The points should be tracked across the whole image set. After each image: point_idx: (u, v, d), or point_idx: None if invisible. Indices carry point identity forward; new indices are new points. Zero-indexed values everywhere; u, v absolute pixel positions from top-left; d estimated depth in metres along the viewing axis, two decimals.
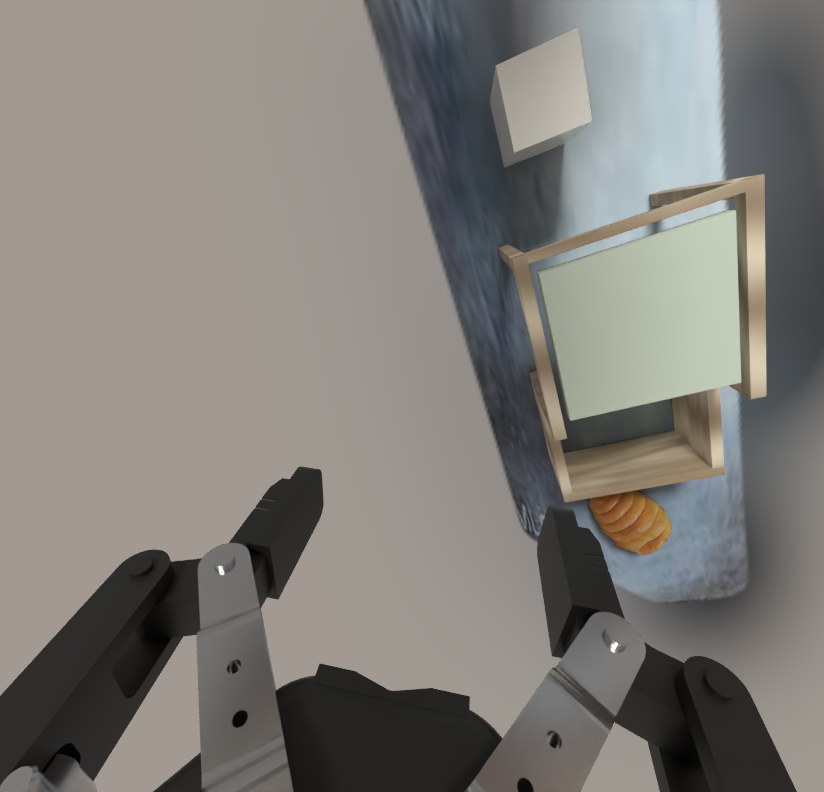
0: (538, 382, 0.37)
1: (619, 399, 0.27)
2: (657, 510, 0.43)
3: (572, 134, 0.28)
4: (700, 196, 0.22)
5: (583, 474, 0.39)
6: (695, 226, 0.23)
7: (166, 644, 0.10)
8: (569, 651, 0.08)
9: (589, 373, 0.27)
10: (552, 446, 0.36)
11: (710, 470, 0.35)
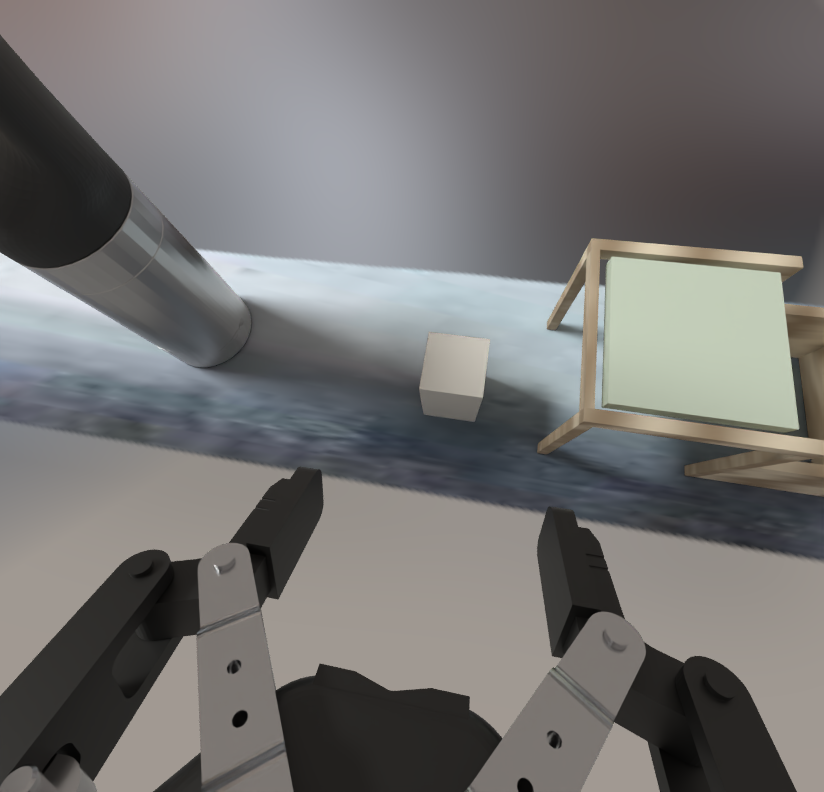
0: (706, 465, 0.32)
1: (778, 373, 0.24)
2: None
3: None
4: (591, 275, 0.27)
5: None
6: (613, 281, 0.27)
7: (166, 644, 0.10)
8: (569, 651, 0.08)
9: (736, 392, 0.24)
10: (817, 475, 0.27)
11: None
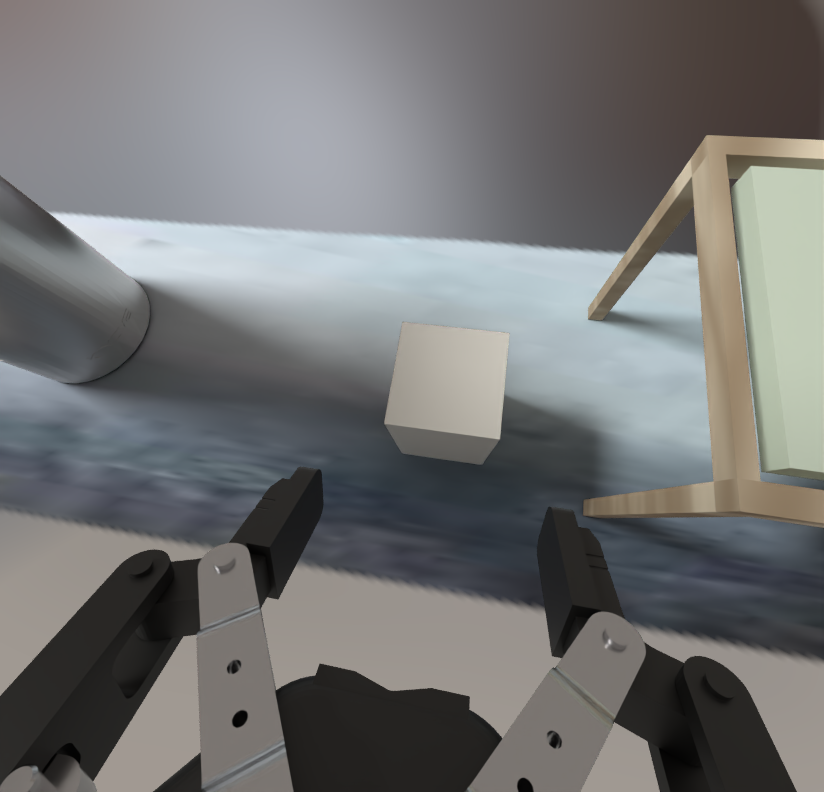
0: None
1: None
2: None
3: None
4: (713, 201, 0.14)
5: None
6: (761, 212, 0.13)
7: (166, 644, 0.10)
8: (569, 651, 0.08)
9: None
10: None
11: None
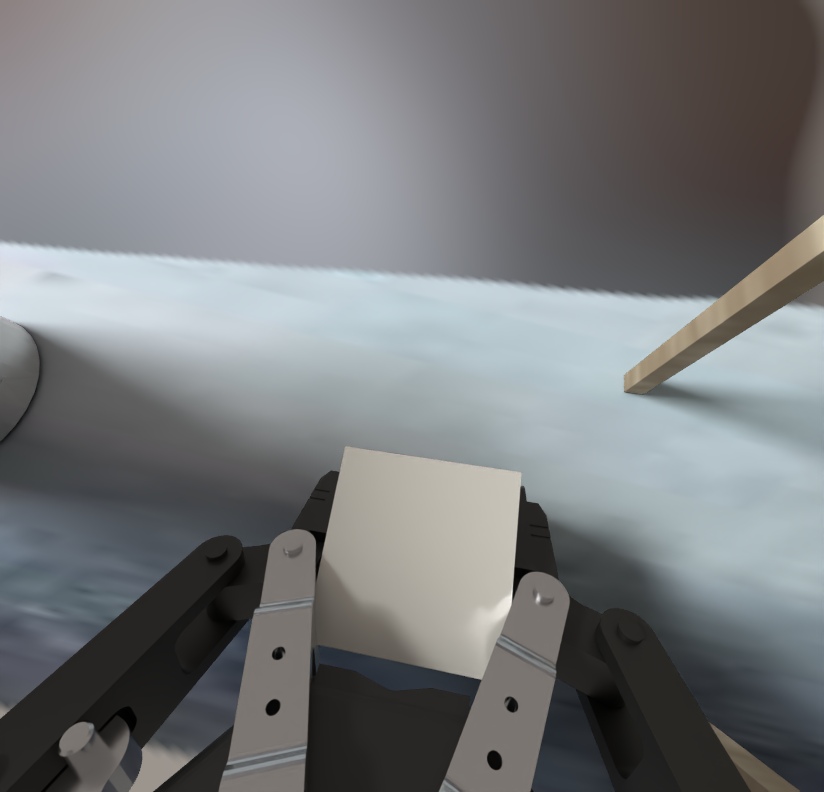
0: None
1: None
2: None
3: None
4: None
5: None
6: None
7: (228, 629, 0.10)
8: (508, 617, 0.09)
9: None
10: None
11: None
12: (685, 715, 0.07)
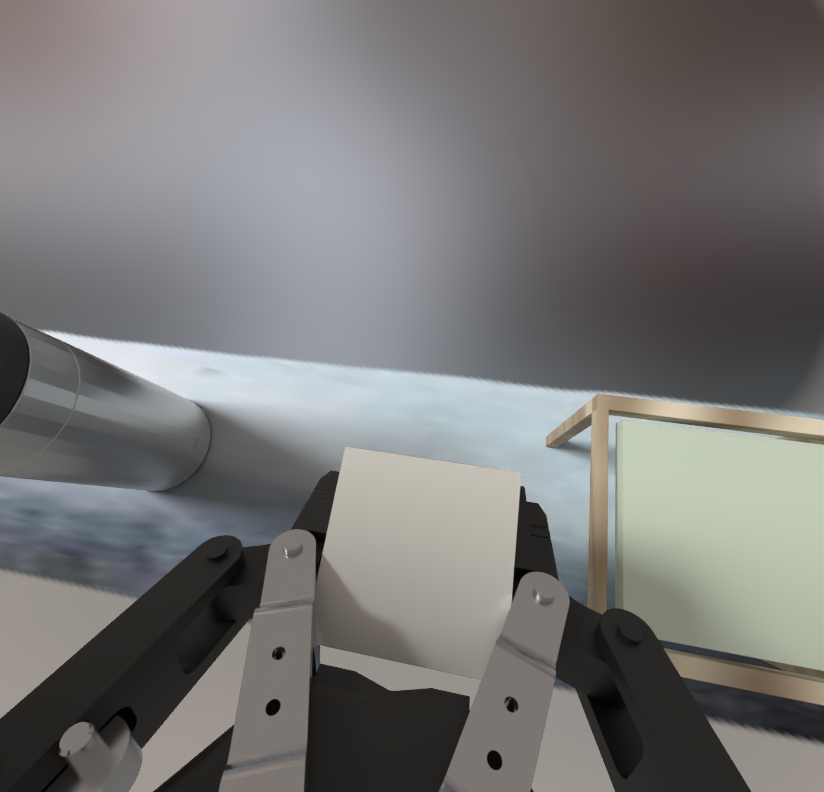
0: None
1: None
2: None
3: None
4: (598, 445, 0.22)
5: None
6: (625, 455, 0.22)
7: (228, 629, 0.10)
8: (508, 617, 0.09)
9: (789, 622, 0.19)
10: None
11: None
12: (685, 714, 0.07)
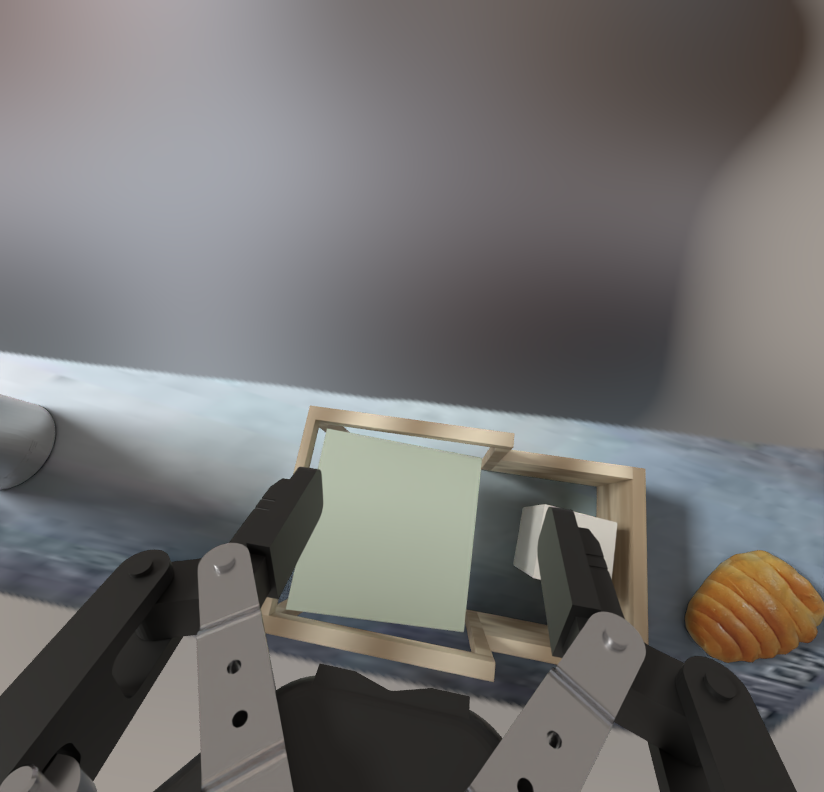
0: (467, 623, 0.30)
1: (458, 570, 0.25)
2: (736, 568, 0.31)
3: (529, 512, 0.32)
4: (299, 450, 0.26)
5: None
6: (322, 459, 0.25)
7: (166, 644, 0.10)
8: (569, 651, 0.08)
9: (416, 593, 0.24)
10: (543, 659, 0.26)
11: (634, 481, 0.29)
12: (774, 791, 0.06)
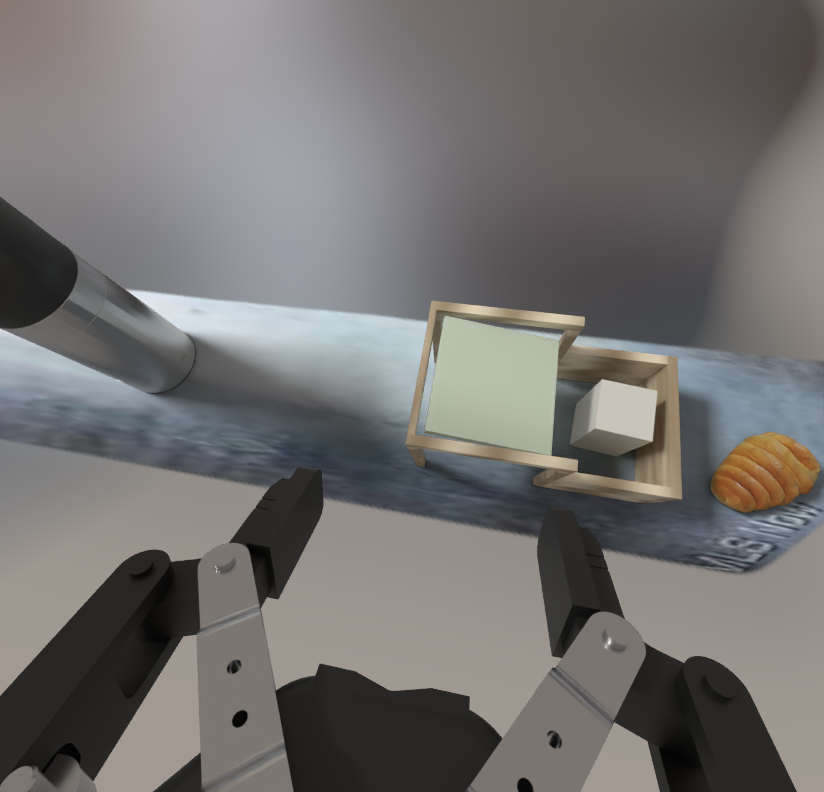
0: (539, 477, 0.39)
1: (545, 414, 0.34)
2: (750, 444, 0.40)
3: (584, 399, 0.42)
4: (426, 330, 0.35)
5: (655, 472, 0.37)
6: (443, 336, 0.35)
7: (166, 644, 0.10)
8: (569, 651, 0.08)
9: (515, 427, 0.33)
10: (603, 485, 0.35)
11: (669, 365, 0.38)
12: None
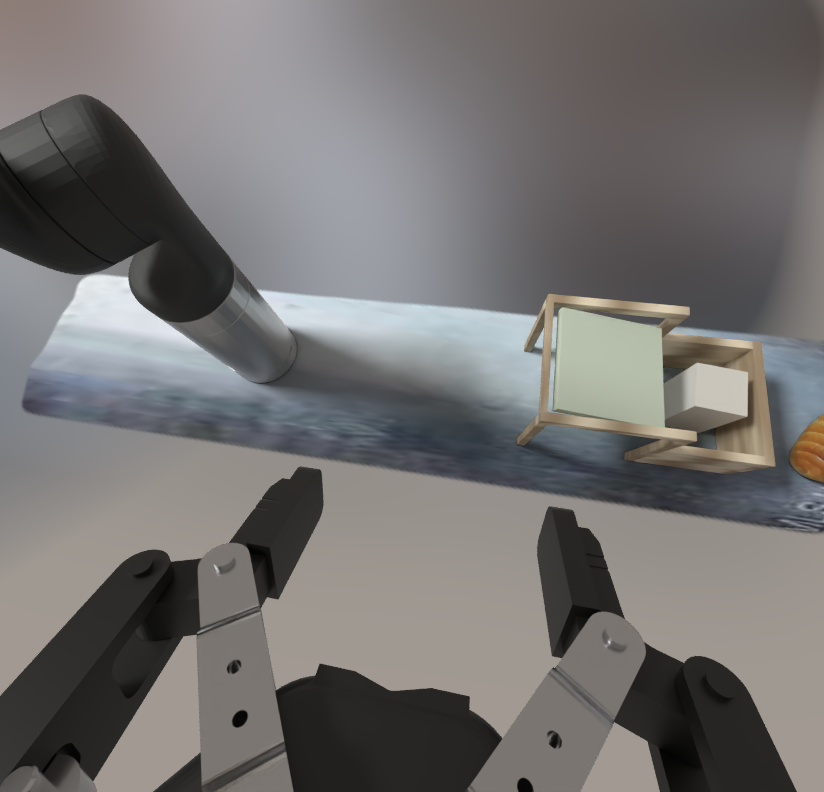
0: (636, 451, 0.44)
1: (656, 393, 0.39)
2: None
3: (672, 381, 0.46)
4: (547, 320, 0.40)
5: (744, 444, 0.42)
6: (563, 325, 0.39)
7: (166, 644, 0.10)
8: (569, 651, 0.08)
9: (632, 405, 0.38)
10: (704, 455, 0.40)
11: (754, 350, 0.43)
12: None
